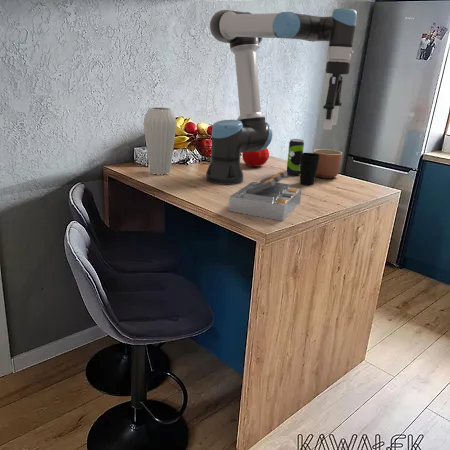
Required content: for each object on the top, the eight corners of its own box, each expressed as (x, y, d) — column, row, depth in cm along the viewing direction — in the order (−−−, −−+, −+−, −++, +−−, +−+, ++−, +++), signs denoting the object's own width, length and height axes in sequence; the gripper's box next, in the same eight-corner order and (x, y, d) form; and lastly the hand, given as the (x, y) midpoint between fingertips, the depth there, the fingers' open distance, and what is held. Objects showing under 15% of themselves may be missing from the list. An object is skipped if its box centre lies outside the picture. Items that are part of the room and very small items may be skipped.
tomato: (243, 162, 220) (244, 139, 216) (268, 164, 218) (270, 141, 215) (240, 168, 207) (241, 144, 204) (267, 170, 206) (269, 146, 202)
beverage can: (296, 172, 204) (300, 138, 199) (303, 175, 199) (306, 141, 194) (283, 172, 202) (287, 138, 197) (290, 176, 197) (293, 141, 192)
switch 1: (247, 195, 145) (245, 190, 145) (251, 192, 148) (249, 187, 148) (272, 186, 141) (270, 180, 141) (275, 183, 144) (273, 178, 144)
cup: (316, 187, 182) (319, 157, 178) (297, 185, 183) (300, 155, 179) (316, 182, 189) (320, 153, 185) (297, 180, 190) (301, 151, 186)
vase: (154, 168, 198) (153, 105, 189) (181, 172, 194) (182, 108, 185) (137, 174, 187) (136, 108, 178) (166, 178, 182) (167, 111, 173)
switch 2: (254, 190, 151) (252, 185, 151) (258, 187, 155) (256, 182, 154) (278, 181, 147) (276, 175, 147) (281, 179, 150) (279, 173, 150)
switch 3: (261, 185, 158) (259, 180, 157) (264, 183, 161) (262, 178, 160) (284, 176, 153) (282, 171, 153) (287, 174, 157) (285, 169, 156)
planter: (307, 177, 196) (310, 152, 192) (313, 171, 207) (316, 147, 203) (337, 181, 192) (340, 155, 188) (341, 175, 203) (344, 151, 199)
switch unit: (228, 211, 147) (230, 192, 145) (251, 195, 166) (252, 177, 164) (282, 221, 141) (284, 200, 139) (300, 202, 160) (302, 184, 158)
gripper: (346, 61, 137) (336, 132, 144) (353, 62, 159) (344, 123, 166) (321, 60, 139) (313, 130, 146) (331, 60, 161) (324, 121, 169)
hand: (329, 127), depth 156 cm, fingers open, 13 cm apart
